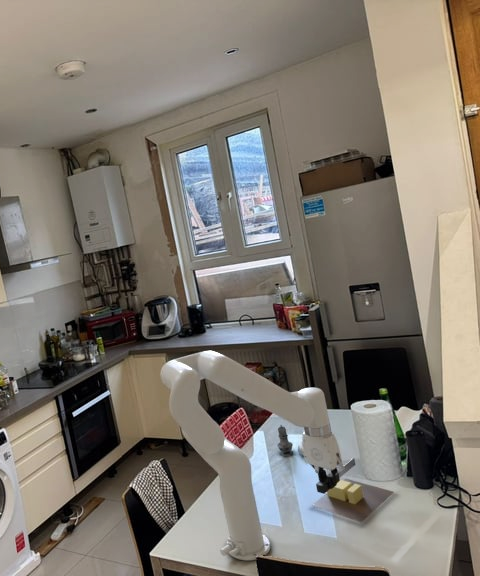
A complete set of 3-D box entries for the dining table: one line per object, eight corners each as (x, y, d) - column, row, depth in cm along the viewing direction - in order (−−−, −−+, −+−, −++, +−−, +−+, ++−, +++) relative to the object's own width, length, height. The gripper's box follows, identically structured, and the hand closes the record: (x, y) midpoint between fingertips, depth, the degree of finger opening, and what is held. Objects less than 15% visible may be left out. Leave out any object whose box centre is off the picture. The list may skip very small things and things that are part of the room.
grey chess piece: (295, 455, 198) (289, 426, 197) (280, 457, 199) (274, 428, 198) (292, 449, 204) (287, 420, 203) (277, 451, 205) (272, 422, 204)
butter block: (345, 501, 160) (343, 489, 160) (327, 495, 165) (325, 484, 165) (353, 494, 163) (351, 482, 163) (336, 489, 168) (333, 477, 168)
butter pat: (355, 504, 158) (352, 492, 157) (349, 502, 159) (346, 490, 159) (363, 497, 160) (361, 485, 160) (357, 495, 162) (355, 483, 162)
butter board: (361, 526, 149) (361, 522, 149) (312, 509, 162) (311, 505, 162) (394, 495, 160) (394, 491, 160) (345, 481, 173) (345, 478, 173)
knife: (324, 494, 152) (322, 485, 152) (317, 492, 154) (315, 484, 154) (358, 465, 163) (357, 457, 163) (351, 463, 165) (350, 456, 165)
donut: (323, 459, 191) (327, 447, 199) (322, 451, 190) (325, 438, 199) (296, 458, 196) (300, 446, 205) (294, 450, 196) (299, 438, 204)
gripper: (287, 428, 158) (298, 484, 160) (335, 438, 145) (347, 498, 147) (301, 419, 162) (312, 473, 164) (349, 428, 149) (360, 487, 151)
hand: (328, 485), depth 155 cm, fingers closed on knife, 2 cm apart
